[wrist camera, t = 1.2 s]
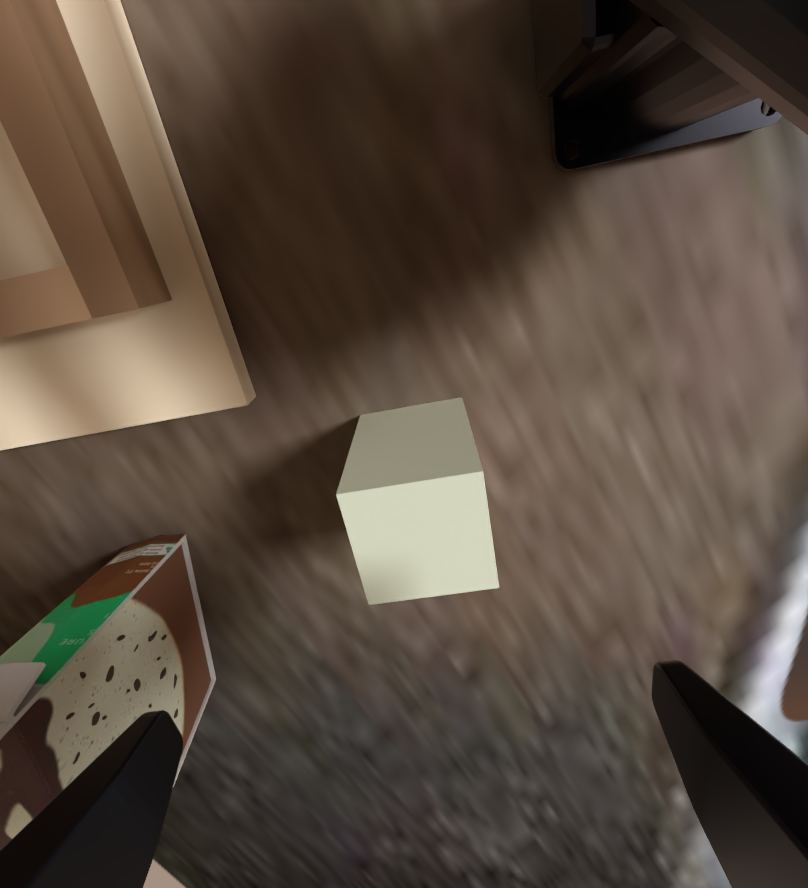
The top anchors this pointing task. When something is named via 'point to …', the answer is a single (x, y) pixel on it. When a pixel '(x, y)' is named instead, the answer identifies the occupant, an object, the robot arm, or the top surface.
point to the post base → (97, 240)
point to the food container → (101, 673)
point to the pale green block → (417, 504)
